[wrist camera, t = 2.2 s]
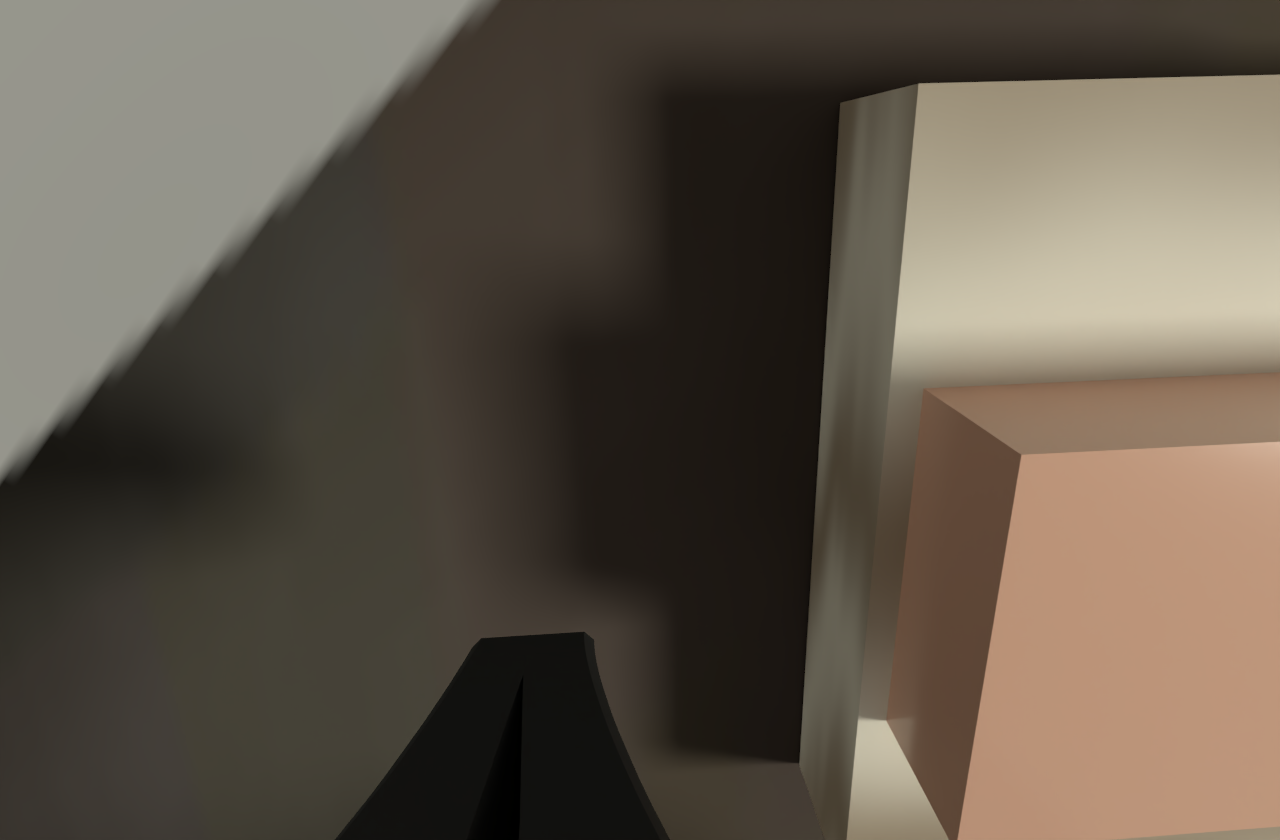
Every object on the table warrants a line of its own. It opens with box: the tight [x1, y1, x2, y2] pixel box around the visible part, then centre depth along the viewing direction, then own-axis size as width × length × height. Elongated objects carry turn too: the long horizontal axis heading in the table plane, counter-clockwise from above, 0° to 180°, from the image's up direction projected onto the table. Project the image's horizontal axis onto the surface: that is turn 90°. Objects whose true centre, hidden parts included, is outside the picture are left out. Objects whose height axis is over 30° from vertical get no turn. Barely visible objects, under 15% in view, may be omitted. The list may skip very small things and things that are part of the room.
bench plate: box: [799, 75, 1280, 840], centre depth 13 cm, size 14×9×3 cm, turn 1°
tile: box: [886, 372, 1280, 840], centre depth 10 cm, size 6×8×2 cm
